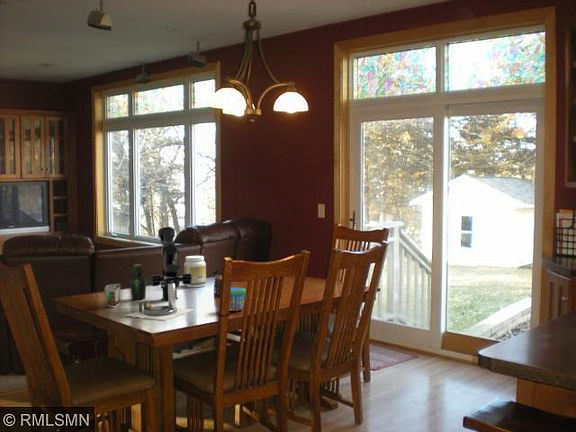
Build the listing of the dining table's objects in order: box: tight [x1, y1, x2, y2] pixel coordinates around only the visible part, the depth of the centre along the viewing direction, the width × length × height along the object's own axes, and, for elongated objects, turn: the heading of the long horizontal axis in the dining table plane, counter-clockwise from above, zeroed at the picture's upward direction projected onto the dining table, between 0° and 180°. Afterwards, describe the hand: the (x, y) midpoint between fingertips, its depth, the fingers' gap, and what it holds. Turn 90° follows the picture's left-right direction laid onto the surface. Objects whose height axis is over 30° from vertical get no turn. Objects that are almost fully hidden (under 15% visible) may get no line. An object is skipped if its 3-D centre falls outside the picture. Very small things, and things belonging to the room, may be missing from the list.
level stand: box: [125, 299, 195, 322], centre depth 299 cm, size 22×22×5 cm
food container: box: [104, 283, 122, 306], centre depth 318 cm, size 12×6×10 cm, turn 1°
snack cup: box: [230, 287, 247, 310], centre depth 303 cm, size 16×10×10 cm
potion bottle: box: [129, 263, 147, 301], centre depth 333 cm, size 8×8×18 cm
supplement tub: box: [183, 255, 207, 289], centre depth 370 cm, size 12×12×17 cm
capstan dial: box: [143, 283, 178, 315], centre depth 299 cm, size 15×15×13 cm
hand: (172, 294), depth 303 cm, fingers closed
